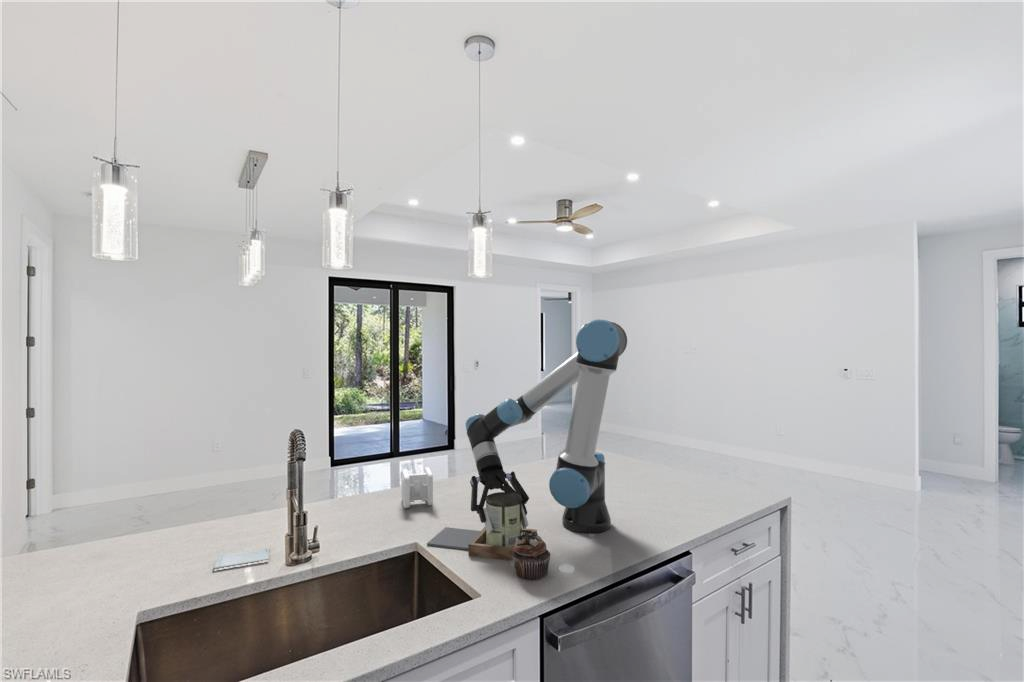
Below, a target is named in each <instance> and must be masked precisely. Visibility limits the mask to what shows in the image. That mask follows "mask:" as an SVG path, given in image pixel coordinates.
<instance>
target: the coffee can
mask: <svg viewBox="0 0 1024 682" xmlns="http://www.w3.org/2000/svg"><path fill="white" fill-rule="evenodd" d="M485 508H487V511H488V515H489V518H490V522H491V525H492V529H493V531H492V532H491V534H490V535H487V531H486V541H485V542H486V545H495V546H504V547H512V548H513V546H514V544H515V542H516V538H517V537H518V536H521V533H522V528H523V527H522V496H521V495H519V494H517V493H512V492H504V491H500V492H494V493H490V494H489V493H488V494H487V496H486V501H485Z"/></svg>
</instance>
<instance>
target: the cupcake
mask: <svg viewBox="0 0 1024 682" xmlns="http://www.w3.org/2000/svg"><path fill="white" fill-rule="evenodd" d="M529 533H530V532H528V531H526V530H524V531H523V533H521V536H518V537H517V538H516V542H515V544H514V546H513V549H512V557H513V561H512V562H513V565H514V571H515V576H517V578H519V579H521V580H525V581H539V580H542V579H544V578H546V577H547V575H548V570H549V564H550V559H551V552H550V551H549V550H548V549H547V544H546V542H545V541H544V540H543V539H542V537H541V536H540V535H539V534H538V531H537V532H531V535H529Z"/></svg>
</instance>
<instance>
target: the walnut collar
mask: <svg viewBox="0 0 1024 682" xmlns="http://www.w3.org/2000/svg"><path fill="white" fill-rule="evenodd" d="M524 530H526V531H528V532H530V533H529V535H531V532H537V533H538V529H535V528H526V529H523V527H522V533H523V531H524ZM480 531H481V532H480V533H479V534H478V535H477V536H476V537H475V538H474V539H473V540H472V541H471V542H470V543H469V544H468V550H467V552H468V555H469V557H477V558H486V559H493V560H502V561H509V562H510V561H511V562H514V561H513V557H512V549H513V548H512V547H504V546H495V545H486V544H485V542H486V527H485V526H484V527H483V528H482V529H481V530H480Z"/></svg>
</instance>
